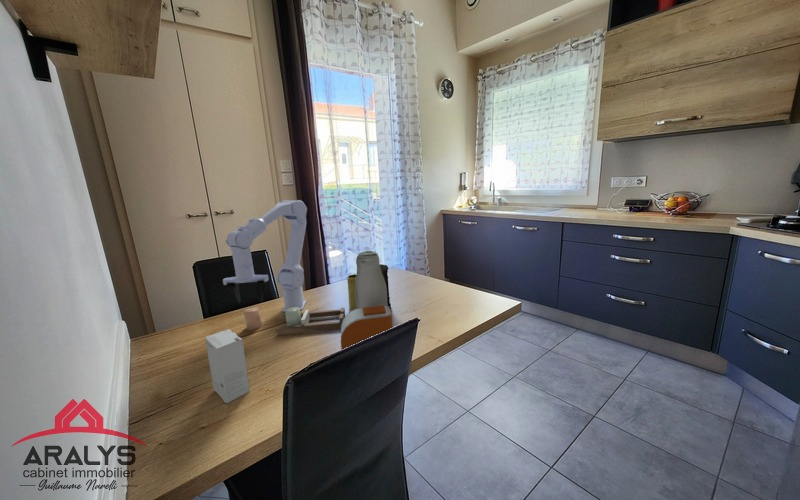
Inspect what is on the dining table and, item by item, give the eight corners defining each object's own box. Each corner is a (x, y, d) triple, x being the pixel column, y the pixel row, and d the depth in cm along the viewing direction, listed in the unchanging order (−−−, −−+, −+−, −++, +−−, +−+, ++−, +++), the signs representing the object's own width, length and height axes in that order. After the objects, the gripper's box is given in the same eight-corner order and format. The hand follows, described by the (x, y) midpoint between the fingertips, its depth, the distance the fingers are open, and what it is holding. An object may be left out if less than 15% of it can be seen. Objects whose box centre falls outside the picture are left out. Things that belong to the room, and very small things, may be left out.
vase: (361, 314, 116) (358, 278, 112) (346, 313, 117) (343, 278, 114) (366, 307, 121) (363, 273, 118) (352, 306, 123) (349, 273, 119)
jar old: (289, 324, 110) (286, 307, 109) (303, 322, 111) (301, 306, 109) (285, 330, 105) (283, 313, 104) (300, 329, 106) (298, 312, 105)
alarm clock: (390, 341, 95) (388, 301, 92) (395, 356, 87) (392, 313, 84) (343, 348, 92) (339, 307, 89) (342, 364, 84) (338, 319, 81)
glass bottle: (375, 322, 108) (369, 246, 102) (394, 331, 101) (390, 250, 95) (352, 332, 102) (345, 252, 95) (371, 343, 94) (365, 256, 88)
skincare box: (213, 390, 76) (201, 337, 72) (238, 378, 80) (228, 327, 77) (226, 405, 70) (214, 348, 67) (252, 391, 75) (242, 337, 72)
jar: (249, 324, 112) (246, 308, 110) (263, 322, 112) (260, 306, 111) (244, 330, 107) (241, 313, 105) (259, 329, 107) (256, 312, 106)
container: (364, 314, 115) (360, 269, 111) (374, 305, 123) (371, 263, 119) (385, 317, 111) (382, 271, 107) (395, 308, 120) (392, 264, 115)
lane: (285, 320, 113) (284, 311, 112) (345, 314, 116) (344, 306, 115) (277, 335, 102) (275, 325, 101) (343, 328, 104) (342, 319, 104)
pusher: (306, 319, 113) (305, 309, 112) (345, 316, 114) (344, 306, 113) (302, 330, 104) (300, 319, 103) (343, 326, 106) (342, 315, 105)
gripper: (216, 269, 100) (223, 308, 103) (261, 266, 101) (267, 304, 104) (225, 264, 106) (232, 300, 109) (268, 261, 108) (273, 296, 111)
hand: (249, 301), depth 107 cm, fingers open, 7 cm apart
